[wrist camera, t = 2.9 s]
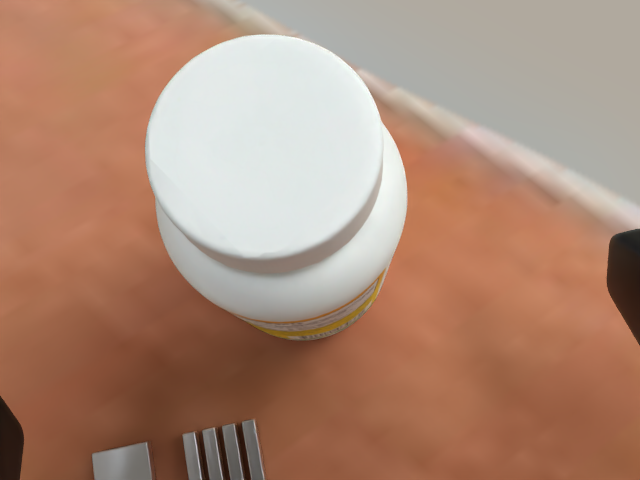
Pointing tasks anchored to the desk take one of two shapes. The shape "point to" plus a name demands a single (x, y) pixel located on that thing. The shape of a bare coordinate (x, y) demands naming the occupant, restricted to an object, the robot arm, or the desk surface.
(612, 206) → the desk surface
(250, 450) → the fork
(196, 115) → the supplement bottle
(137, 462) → the knife
